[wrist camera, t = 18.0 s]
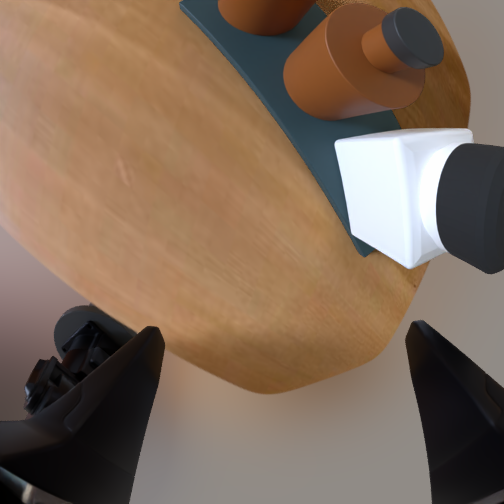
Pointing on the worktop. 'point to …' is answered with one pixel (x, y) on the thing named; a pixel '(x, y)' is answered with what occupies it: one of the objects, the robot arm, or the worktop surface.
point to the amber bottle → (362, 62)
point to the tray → (280, 103)
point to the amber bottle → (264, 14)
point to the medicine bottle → (426, 195)
